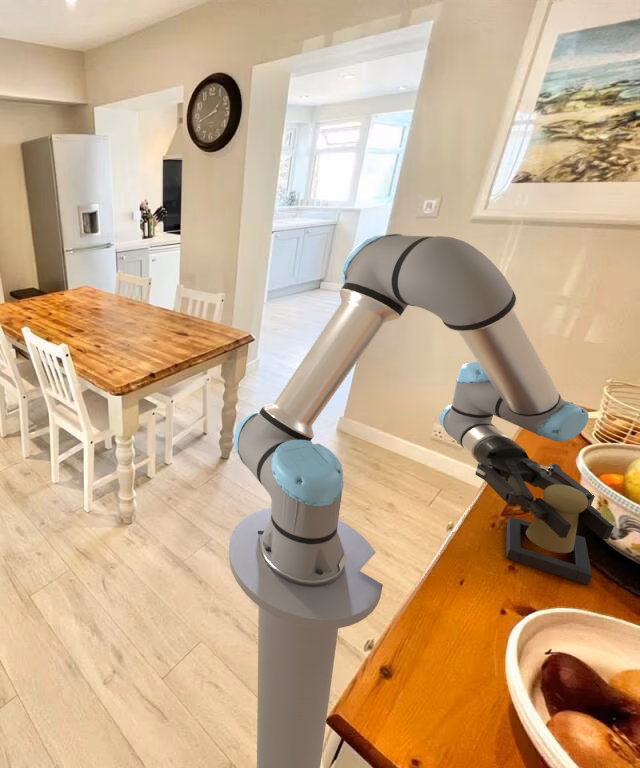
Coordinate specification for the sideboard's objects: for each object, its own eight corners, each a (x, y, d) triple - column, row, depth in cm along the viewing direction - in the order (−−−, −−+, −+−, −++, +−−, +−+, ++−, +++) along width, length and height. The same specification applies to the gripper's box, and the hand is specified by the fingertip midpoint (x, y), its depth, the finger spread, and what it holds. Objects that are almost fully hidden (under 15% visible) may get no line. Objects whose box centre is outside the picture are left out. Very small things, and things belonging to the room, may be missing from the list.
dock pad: (506, 558, 72) (509, 549, 72) (507, 524, 79) (509, 516, 78) (588, 585, 66) (592, 575, 65) (581, 546, 73) (585, 537, 72)
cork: (521, 539, 72) (538, 490, 68) (530, 522, 75) (547, 474, 71) (569, 559, 68) (590, 507, 63) (577, 540, 71) (598, 490, 66)
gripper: (539, 465, 84) (648, 552, 63) (442, 465, 88) (514, 546, 67) (549, 434, 81) (667, 515, 60) (449, 436, 85) (526, 512, 64)
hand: (586, 531), depth 64 cm, fingers closed on cork, 5 cm apart
